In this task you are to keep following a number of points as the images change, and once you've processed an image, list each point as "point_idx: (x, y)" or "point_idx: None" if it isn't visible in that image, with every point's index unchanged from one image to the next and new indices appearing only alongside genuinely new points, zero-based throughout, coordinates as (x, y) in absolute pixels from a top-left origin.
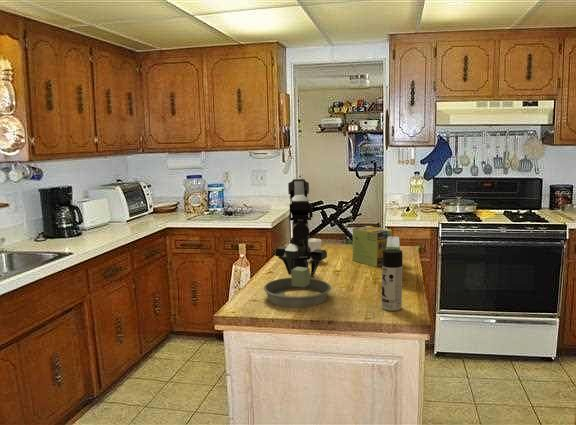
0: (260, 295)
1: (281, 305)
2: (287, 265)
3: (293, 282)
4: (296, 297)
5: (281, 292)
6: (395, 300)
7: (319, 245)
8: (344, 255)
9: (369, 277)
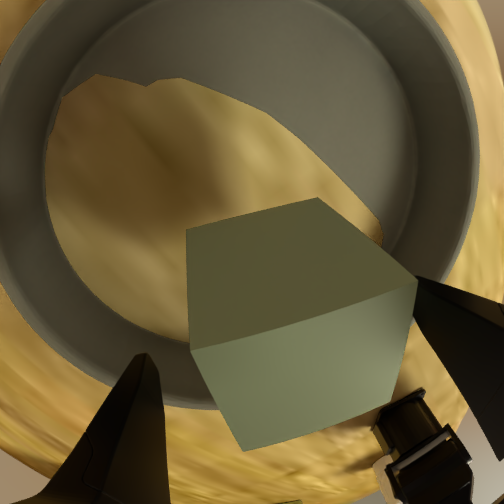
0: None
1: None
2: (492, 319)
3: (312, 213)
4: None
5: (383, 205)
6: None
7: (386, 498)
8: (333, 496)
9: (177, 486)
